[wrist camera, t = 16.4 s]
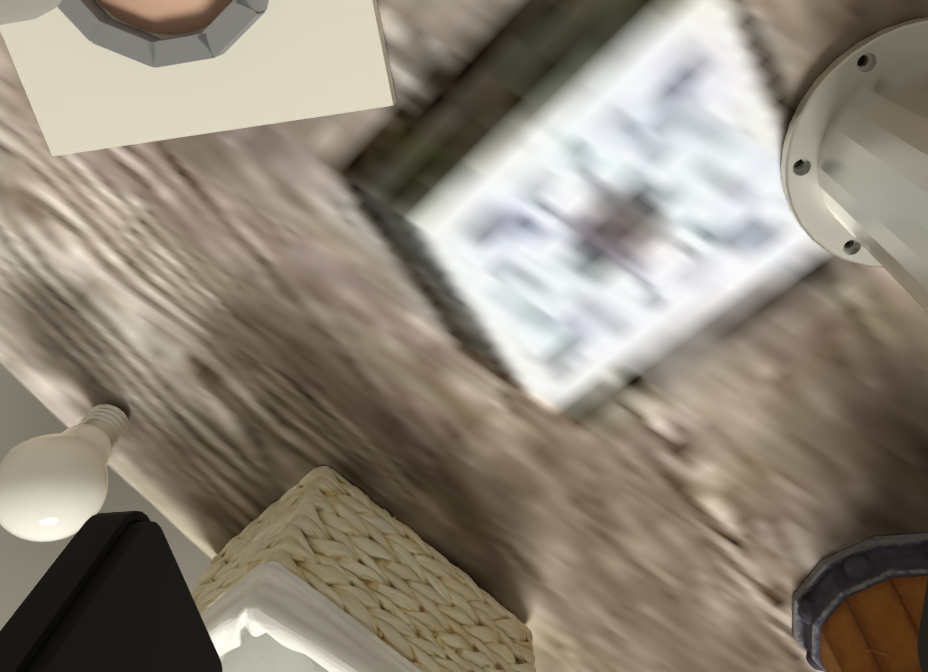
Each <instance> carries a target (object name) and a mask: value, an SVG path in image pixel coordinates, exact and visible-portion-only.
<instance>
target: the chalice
mask: <svg viewBox="0 0 928 672" xmlns="http://www.w3.org/2000/svg"><path fill="white" fill-rule="evenodd" d="M61 1H62V0H0V25H4V24H9V23H15V22H21V21H27V20H32V19H36V18H38V17H40V16H42V15H44V14H45V13H47V12H49V11H51V10H53V9H55V8H56V7H57V6H58V5H59V4H60V2H61Z"/></svg>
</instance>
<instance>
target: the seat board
mask: <svg viewBox="0 0 928 672" xmlns="http://www.w3.org/2000/svg"><path fill="white" fill-rule="evenodd" d="M0 31H1V33H2V36H3V38H4V41H5V43H6V46H7V48H8V50H9V53H10V55H11V58H12V60H13V62H14V65H15V67H16V70H17V72H18V74H19V77H20V79H21V82H22V84H23V87H24V89H25V91H26V94H27V96H28V99H29V101H30V103H31V106H32V108H33V111H34V113H35V115H36V118H37V120H38V123H39V125H40V128H41V130H42V132H43V135H44V137H45V140H46V142H47V144H48V147H49V149H50V152H51V154H52V156H58V155H65V154H71V153H78V152H85V151H91V150H98V149H105V148H112V147H118V146H125V145H132V144H138V143H145V142H152V141H159V140H165V139H172V138H179V137H185V136H192V135H199V134H206V133H212V132H219V131H226V130H232V129H239V128H246V127H253V126H259V125H266V124H273V123H279V122H286V121H293V120H300V119H306V118H313V117H320V116H326V115H333V114H340V113H347V112H353V111H360V110H367V109H373V108H380V107H387V106H393V105H394V104H395V103H396V102H397V101H396V96H395V90H394V85H393V80H392V75H391V70H390V65H389V60H388V55H387V50H386V45H385V40H384V35H383V30H382V25H381V19H380V14H379V9H378V4H377V0H62V1H61V2H60V4H59V5H58V6H57V7H56V8H55V9H53V10H51V11H49V12H47V13H45V14H44V15H42V16H40V17H38V18H36V19H32V20H27V21H21V22H15V23H9V24H4V25H0Z"/></svg>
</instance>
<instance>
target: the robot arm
mask: <svg viewBox="0 0 928 672" xmlns="http://www.w3.org/2000/svg"><path fill="white" fill-rule="evenodd" d="M862 55H864V56H865V61H864V62H863V64H861V65H857V62H858V59H859V58H860V57H861V56H862ZM800 159H801V160H802V163H801V165H800V166H798V167H794V164H795V163H796V162H797V161H798V160H800ZM781 175H782V183H783V191H784V194H785V197H786V199H787V202H788V205H789V208H790V211H791V212H792V214H793V215H794V217H795V218H796V220H797V221H798V223H799V224H800V226H801V227H802V229H803V230H804V231H805V232H806V233H807V234H808V235H809V236H810V237H811V239H812V240H813V241H815V242H816V243H817V244H819V245H820V246H821V247H822V248H824V249H825V250H826V251H828V252H829V253H831V254H833V255H835V256H837V257H839V258H841V259H843V260H846V261H849V262H853V263H857V264H861V265H865V266H869V267H884V268H885V269H886V270H887V271H888V272H889V273H890V274H891V275H892V276H893V277H894V279H895V280H896V281H897V282H898V283H899V284H900V285H901V286H902V287H903V288H904V289H905V290H906V291H907V292H908V293H909V294H910V295H911V296H912V297H913V298H914V299H915V300H916V301H917V302H918V303H919V304H920V305H921V306H922V307H923V308H924V309H925V310H926V311H927V312H928V17H926V18H920V19H913V20H909V21H906V22H903V23H900V24H897V25H894V26H891V27H888V28H885V29H883V30H881V31H879V32H877V33H875V34H873V35H871V36H869V37H867V38H866V39H864V40H862V41H860V42H858V43H857V44H855V45H854V46H853V47H851V48H850V49H849V50H847V51H846V52H845V53H843V54H842V55H841V56H839V57H838V58H837V59H835V60H834V61H833V62H832V63H831V64H830V66H829V67H828V68H827V69H826V70H825V71H824V72H823V73H822V74H821V75H820V76H819V77H818V78H817V79H816V80H815V81H814V83H813V84H812V86H811V87H810V88H809V90H808V91H807V93H806V94H805V96H804V97H803V98H802V100H801V101H800V103H799V105H798V107H797V109H796V111H795V113H794V116H793V118H792V120H791V122H790V124H789V127H788V131H787V134H786V138H785V141H784V145H783V150H782V163H781ZM850 240H851V242H850V243H849V244H848V245H845V243H847V242H848V241H850ZM917 650H918V658H919V663H920V666H921V669H922V672H928V580H927V586H926V592H925V598H924V604H923V610H922V616H921V622H920V629H919V635H918V641H917ZM0 672H223V671H222V663H221V660H220V658H219V655H218V653H217V651H216V649H215V646H214V644H213V642H212V640H211V638H210V635H209V633H208V631H207V629H206V626H205V624H204V622H203V620H202V618H201V615H200V613H199V611H198V609H197V606H196V604H195V602H194V600H193V598H192V595H191V593H190V591H189V589H188V586H187V584H186V582H185V580H184V578H183V575H182V573H181V571H180V569H179V567H178V564H177V562H176V560H175V558H174V556H173V553H172V551H171V549H170V547H169V544H168V542H167V540H166V538H165V536H164V533H163V531H162V529H161V527H160V526H159V525H158V524H157V523H156V522H151V521H150V520H149V518H148V517H147V515H145V514H144V513H143V512H139V511H128V512H112V513H98V514H95V515H93V516H91V517H90V518H89V519H88V520H87V521H86V522H85V523H84V524H83V526H82V527H81V528H80V530H79V531H78V532H77V533H76V535H75V536H74V537H73V539H72V540H71V541H70V543H69V544H68V545H67V546H66V548H65V549H64V550H63V551H62V553H61V554H60V555H59V557H58V558H57V559H56V560H55V562H54V563H53V564H52V565H51V567H50V568H49V569H48V571H47V572H46V573H45V575H44V576H43V577H42V578H41V580H40V581H39V582H38V583H37V585H36V586H35V587H34V589H33V590H32V591H31V592H30V594H29V595H28V596H27V598H26V599H25V600H24V601H23V603H22V604H21V605H20V607H19V608H18V609H17V610H16V612H15V613H14V614H13V616H12V617H11V618H10V619H9V621H8V622H7V623H6V625H5V626H4V627H3V629H2V630H1V631H0Z"/></svg>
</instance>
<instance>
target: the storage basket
mask: <svg viewBox="0 0 928 672" xmlns="http://www.w3.org/2000/svg"><path fill="white" fill-rule="evenodd" d="M395 518H396V517H395V516H394V517H393V518H392V517H391V516H390V514H389V513H388V512H387V511H386V510H385V509H381V508H380V507H379V506H377V505H376V504H375V503H374V502H373V501H371V500H370V499H369V496H368V495H365V494H364V493H363V492H362V491H361V490H360V489H359V488H358V487H356V486H353V485H352V484H350V483H349V482H348V481H347V480H345V479H344V478H343V477H342V476H341V475H339V474H338V473H337V472H336V471H335V470H333V469H332V468H330V467H328V466H321V467H317V468H315V469H313V470H312V471H310V472H309V473H308V474H306V475H305V476H304V477H303V478H302V479H301V480H300V481H299V482H298V484H297V485H295V486H293V487H292V488H291V489H289V490H288V491H287V492H286V493H285V494H284V495H283V496H282V497H281V498H280V499H279V500H278V501H276V502H274V503H273V504H271V505H270V506H269V507H268V508H267V509H266V510H264V511H263V513H262V514H261V515H260V516H259V517H258V518H257V519H255V520H254V521H252V522H251V523H250V524H249V525H248V526H247V527H246V528H245V529H244V530H243V531H242V532H241V533H240V534H239V535H237V536H235V537H233V538H232V539H231V540H230V541H229V542H228V543H227V544H226V545H225V547H224V548H223V549H222V551H220V552H219V554H218V555H217V556H215V557H214V558H213V560H212V561H211V563H210V565H209V566H208V567H207V569H206V571H205V572H204V573H203V574H202V576H201V577H200V579H199V581H198V583H197V587H196V588H194V590H193V591H192V592H190V593H191V595H192V598H193V600H194V602H195V604H196V606H197V609H198V611H199V613H200V615H201V618H202V620H203V622H204V624H205V626H206V629H207V631H208V633H209V635H210V638H211V640H212V642H213V644H214V646H215V649H216V651H217V653H218V655H219V658H220V660H221V663H222V671H223V672H536V669H535V667H534V664H535V658H534V654H533V645H532V639H533V638H532V633H531V631H530V629H529V628H528V627H527V626H526V625H525V624H523V623H522V622H521V621H520V620H519V619H517V617H516V616H515V615H514V614H513V613H511V612H509V611H508V610H507V609H506V608H504V607H503V606H502V605H500V604H499V603H498V602H497V601H496V600H495V599H494V598H493V597H492V596H490V594H489V593H487V592H485V591H484V590H482V589H481V588H479V587H478V586H477V585H476V584H475V582H474V581H473V580H472V579H471V578H470V577H469V576H468V575H467V574H466V573H465V572H463V571H462V570H461V569H459V568H458V567H456V566H454V565H453V564H451V563H449V561H448V560H447V559H446V558H445V557H444V556H443V555H441V554H440V553H439V552H438V551H436V550H435V549H434V548H432V547H431V546H429V545H428V544H427V543H425V542H423V541H422V540H421V539H420V537H419V536H418V535H417V534H416V533H415V532H414V531H413V530H412V529H410V528H409V527H408V526H406V525H405V524H402V523H401V522H400V521H398V520H396V519H395Z"/></svg>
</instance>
